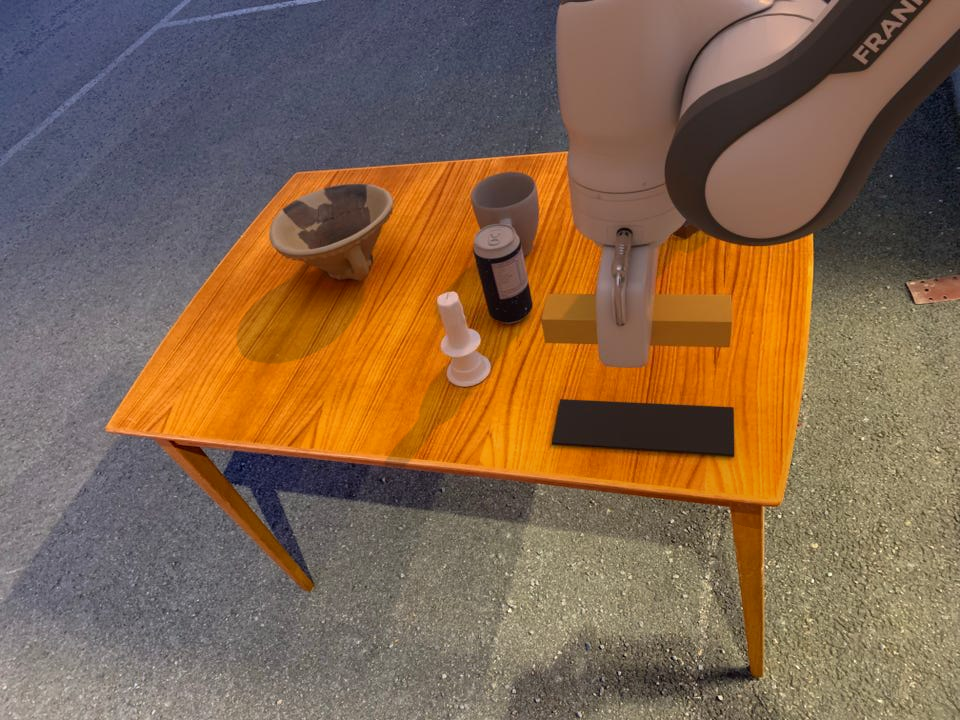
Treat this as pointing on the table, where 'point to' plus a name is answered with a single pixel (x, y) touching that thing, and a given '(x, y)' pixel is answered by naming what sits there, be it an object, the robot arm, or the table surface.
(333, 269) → the bowl
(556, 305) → the bar
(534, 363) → the table surface
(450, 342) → the candle
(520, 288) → the beverage can
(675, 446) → the mat
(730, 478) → the table surface
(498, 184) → the mug
